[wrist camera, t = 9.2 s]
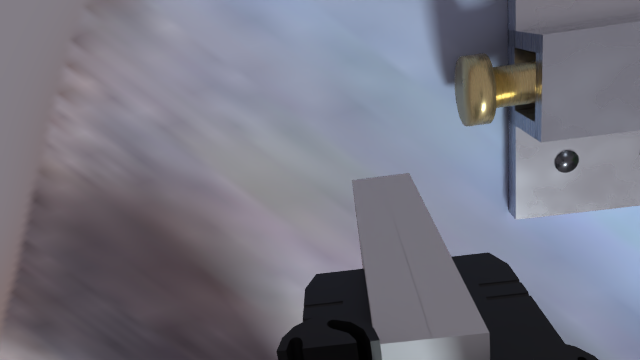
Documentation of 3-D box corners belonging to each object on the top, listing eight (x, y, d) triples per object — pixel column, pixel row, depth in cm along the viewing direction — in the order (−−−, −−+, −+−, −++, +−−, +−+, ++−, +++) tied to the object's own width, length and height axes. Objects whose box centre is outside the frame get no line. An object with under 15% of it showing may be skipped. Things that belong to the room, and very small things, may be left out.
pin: (456, 117, 29) (474, 134, 25) (453, 53, 27) (471, 60, 24) (767, 77, 27) (832, 88, 24) (779, 7, 26) (850, 8, 23)
